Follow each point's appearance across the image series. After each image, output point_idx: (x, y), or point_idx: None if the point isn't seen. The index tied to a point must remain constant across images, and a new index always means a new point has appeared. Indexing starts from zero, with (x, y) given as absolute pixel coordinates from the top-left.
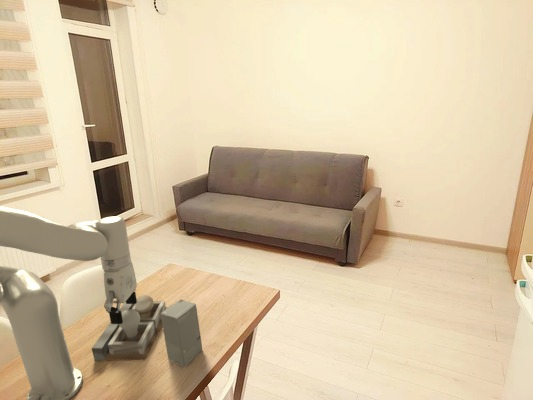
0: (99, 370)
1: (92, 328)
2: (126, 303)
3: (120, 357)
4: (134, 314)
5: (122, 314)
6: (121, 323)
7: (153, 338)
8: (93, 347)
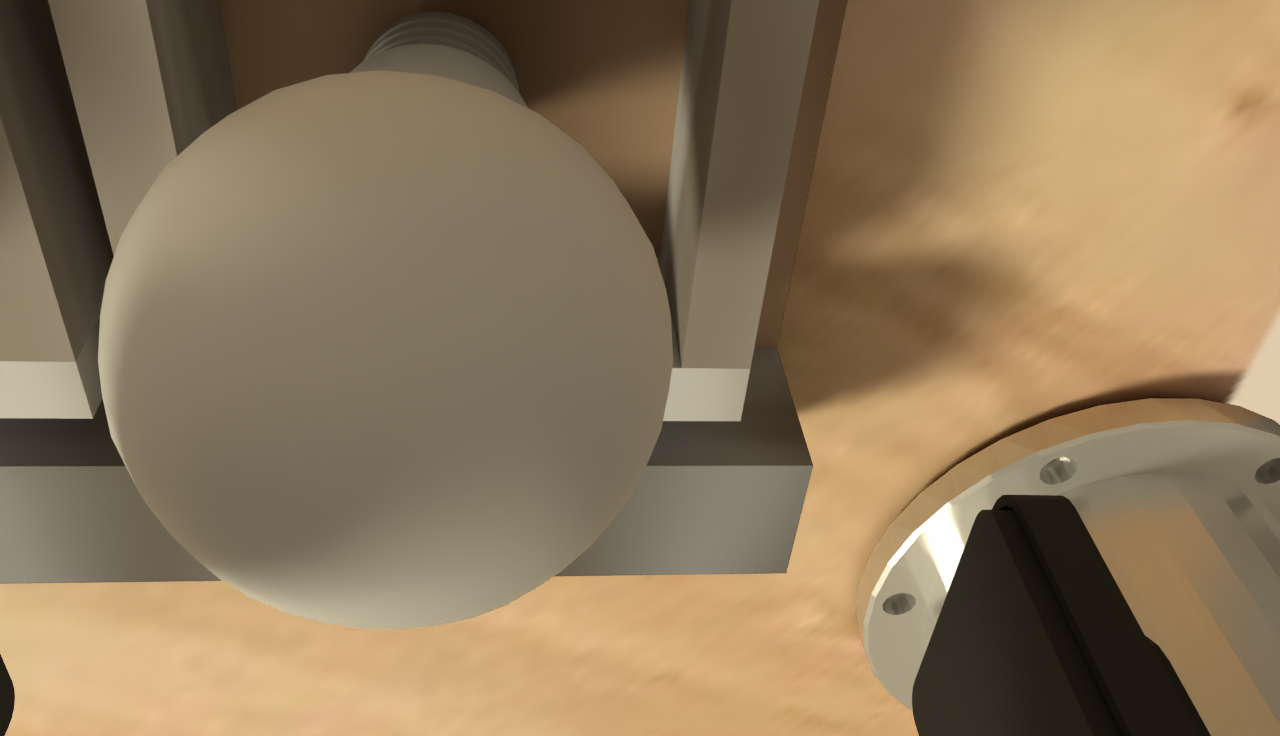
0: (932, 315)
1: (181, 658)
2: (9, 709)
3: (807, 144)
4: (421, 309)
5: (485, 603)
6: (1059, 507)
7: None
8: (776, 560)
